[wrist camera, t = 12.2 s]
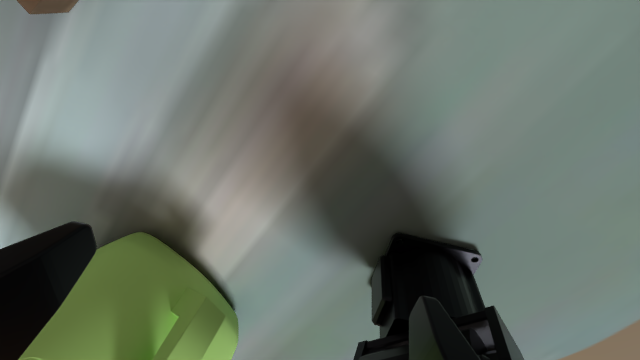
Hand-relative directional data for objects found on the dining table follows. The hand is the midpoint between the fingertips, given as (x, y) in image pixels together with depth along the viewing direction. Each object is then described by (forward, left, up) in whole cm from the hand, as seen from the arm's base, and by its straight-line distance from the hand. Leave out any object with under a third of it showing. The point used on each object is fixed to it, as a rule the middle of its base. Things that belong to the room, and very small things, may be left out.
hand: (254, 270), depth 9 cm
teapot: (+10, +21, -13) cm, 27 cm away
